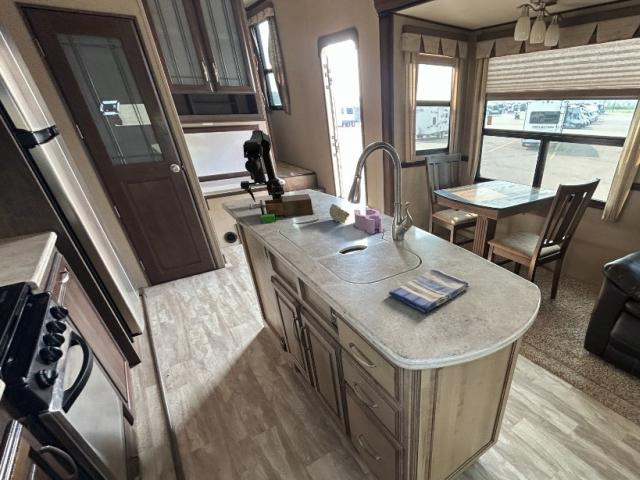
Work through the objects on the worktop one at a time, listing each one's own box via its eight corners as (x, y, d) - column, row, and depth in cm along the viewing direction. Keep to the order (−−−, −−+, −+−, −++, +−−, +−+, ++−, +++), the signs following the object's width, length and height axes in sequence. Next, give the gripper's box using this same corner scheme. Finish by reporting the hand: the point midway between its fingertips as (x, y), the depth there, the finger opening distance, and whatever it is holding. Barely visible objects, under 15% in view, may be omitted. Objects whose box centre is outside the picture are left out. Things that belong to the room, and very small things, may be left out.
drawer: (251, 218, 175) (248, 206, 172) (251, 212, 184) (248, 200, 181) (289, 214, 181) (287, 202, 178) (288, 209, 190) (286, 197, 187)
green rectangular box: (275, 221, 174) (274, 215, 172) (262, 223, 172) (261, 217, 170) (275, 219, 177) (273, 213, 175) (262, 220, 175) (261, 214, 173)
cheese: (332, 220, 181) (319, 209, 167) (339, 209, 181) (327, 197, 167) (352, 233, 177) (341, 223, 163) (360, 222, 177) (349, 211, 162)
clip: (388, 230, 161) (388, 217, 158) (366, 235, 156) (365, 221, 153) (372, 219, 176) (371, 207, 172) (351, 223, 171) (349, 210, 167)
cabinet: (285, 217, 180) (282, 201, 176) (283, 210, 190) (280, 196, 186) (313, 214, 185) (311, 199, 180) (310, 208, 195) (308, 193, 190)
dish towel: (470, 288, 112) (471, 281, 111) (426, 315, 98) (427, 308, 96) (432, 272, 122) (432, 265, 121) (387, 295, 108) (387, 288, 107)
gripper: (276, 165, 170) (282, 195, 178) (238, 167, 164) (245, 198, 172) (277, 169, 161) (283, 200, 169) (236, 171, 155) (245, 204, 163)
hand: (264, 200), depth 169 cm, fingers open, 9 cm apart
